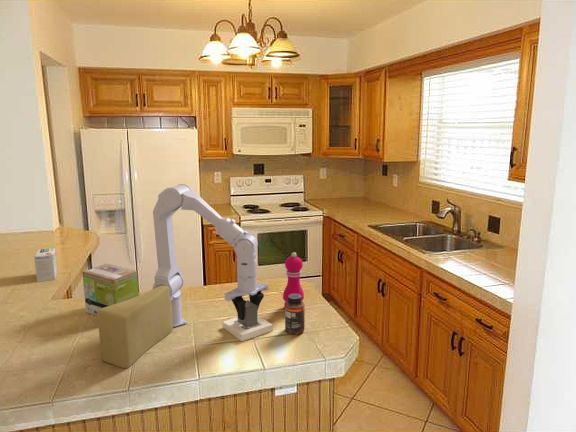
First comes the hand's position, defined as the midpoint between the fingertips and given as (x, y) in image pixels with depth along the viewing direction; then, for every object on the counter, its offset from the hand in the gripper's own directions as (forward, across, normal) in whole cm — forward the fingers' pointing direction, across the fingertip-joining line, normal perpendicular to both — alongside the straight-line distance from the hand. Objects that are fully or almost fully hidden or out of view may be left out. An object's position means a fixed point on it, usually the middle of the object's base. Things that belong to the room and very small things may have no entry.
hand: (247, 317), depth 130 cm
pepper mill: (+4, +21, +4) cm, 22 cm away
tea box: (+4, -29, +38) cm, 48 cm away
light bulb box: (+4, -40, +89) cm, 98 cm away
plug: (+2, 0, 0) cm, 2 cm away
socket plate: (+4, 0, 0) cm, 4 cm away
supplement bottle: (+4, +11, -10) cm, 15 cm away
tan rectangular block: (+4, -29, +9) cm, 30 cm away
